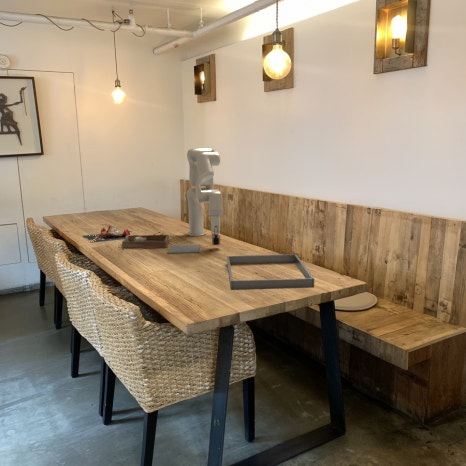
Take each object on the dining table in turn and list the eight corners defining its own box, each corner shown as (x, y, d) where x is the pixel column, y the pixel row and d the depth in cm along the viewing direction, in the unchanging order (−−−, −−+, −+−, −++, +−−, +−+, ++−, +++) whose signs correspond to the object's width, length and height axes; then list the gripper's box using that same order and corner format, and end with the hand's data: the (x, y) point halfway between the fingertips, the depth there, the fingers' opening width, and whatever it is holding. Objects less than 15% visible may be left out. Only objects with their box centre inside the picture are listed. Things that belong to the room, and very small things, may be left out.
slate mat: (170, 246, 280) (169, 245, 280) (199, 245, 281) (199, 244, 281) (167, 253, 263) (167, 252, 263) (199, 253, 264) (199, 251, 264)
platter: (132, 231, 332) (132, 219, 330) (142, 240, 308) (141, 226, 306) (82, 237, 318) (80, 224, 316) (87, 246, 294) (86, 232, 292)
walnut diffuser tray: (127, 241, 295) (127, 235, 295) (169, 240, 297) (168, 234, 296) (122, 248, 277) (122, 242, 276) (166, 247, 278) (165, 241, 277)
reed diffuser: (131, 234, 286) (162, 227, 295) (132, 243, 290) (162, 236, 299) (137, 243, 279) (168, 236, 288) (137, 252, 283) (168, 245, 292)
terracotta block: (211, 243, 275) (211, 233, 274) (220, 243, 276) (220, 233, 274) (211, 245, 270) (211, 235, 269) (220, 245, 271) (220, 235, 269)
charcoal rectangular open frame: (227, 263, 240) (226, 256, 240) (296, 261, 242) (296, 254, 241) (230, 290, 198) (230, 281, 197) (314, 287, 200) (314, 278, 199)
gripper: (209, 210, 277) (209, 240, 281) (209, 215, 260) (209, 247, 264) (221, 210, 277) (222, 239, 281) (222, 215, 261) (222, 246, 265)
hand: (216, 243), depth 273 cm, fingers closed on terracotta block, 5 cm apart
